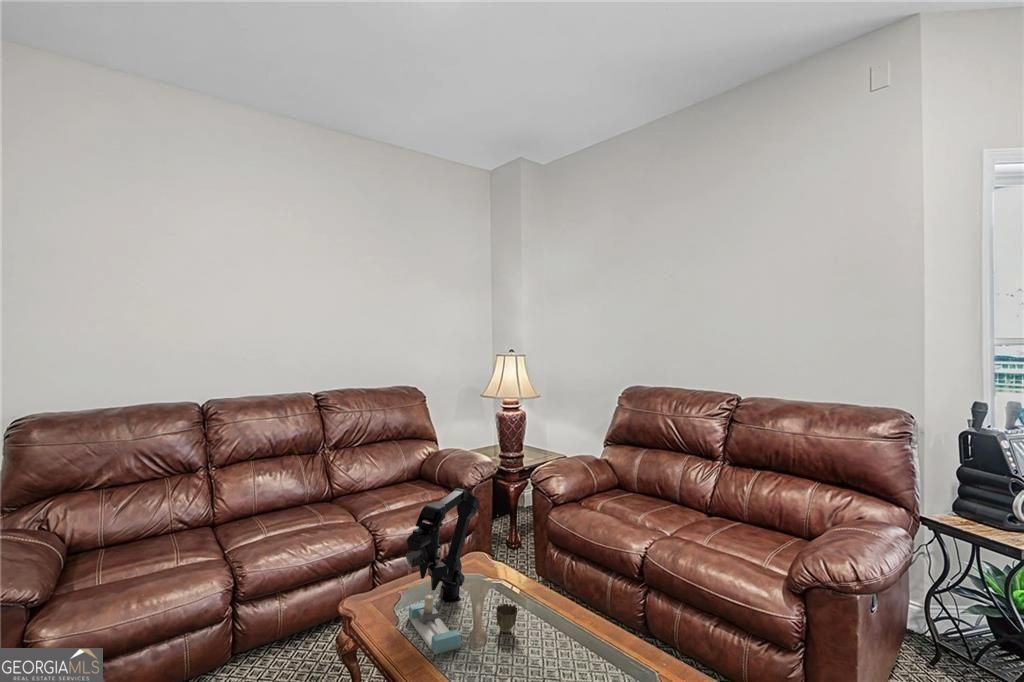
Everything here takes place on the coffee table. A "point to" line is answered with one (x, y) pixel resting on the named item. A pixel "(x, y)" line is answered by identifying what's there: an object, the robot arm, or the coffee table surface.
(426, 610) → the carriage
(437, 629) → the rail track
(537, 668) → the coffee table surface
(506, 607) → the cup
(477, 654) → the coffee table surface
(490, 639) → the coffee table surface
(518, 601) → the coffee table surface
